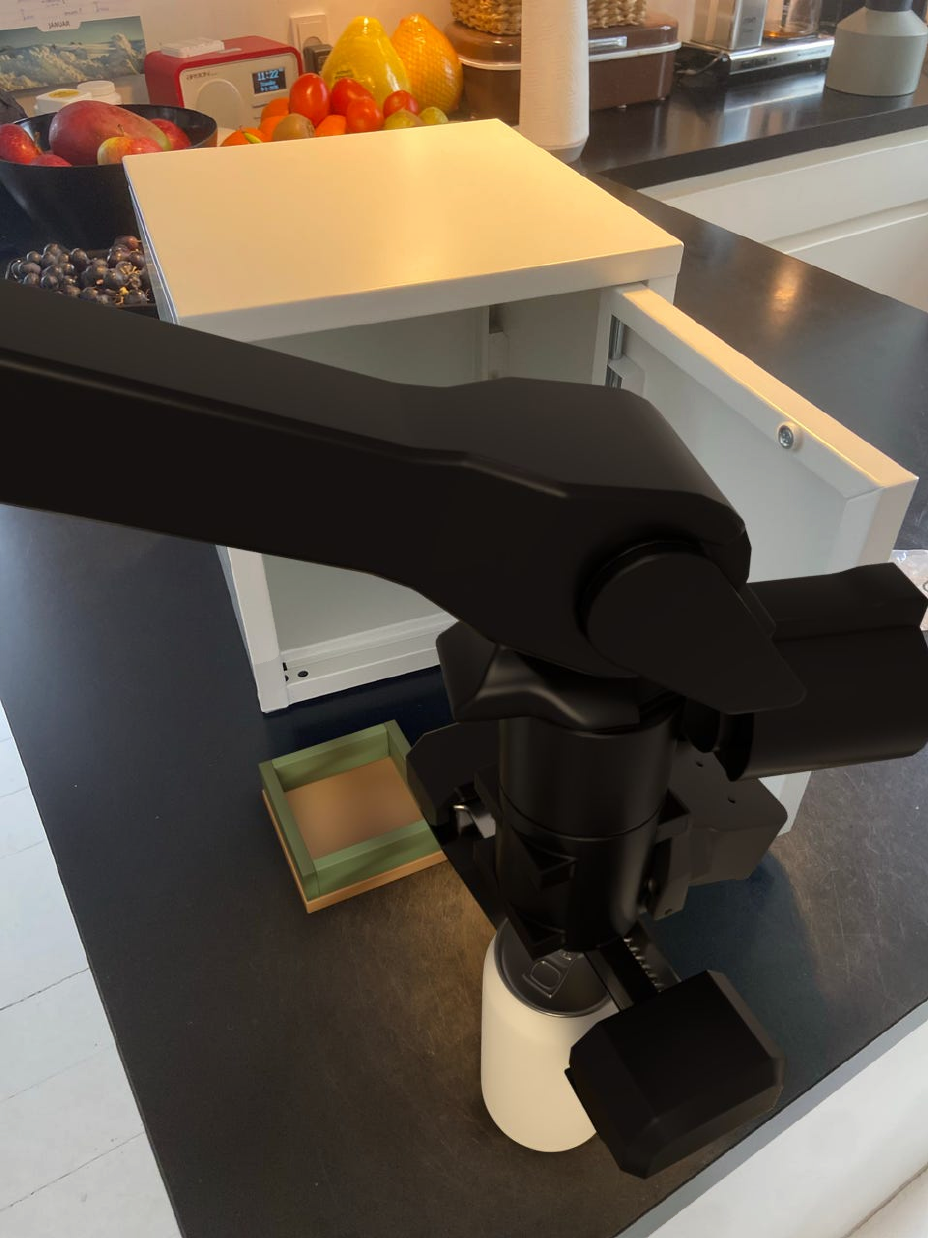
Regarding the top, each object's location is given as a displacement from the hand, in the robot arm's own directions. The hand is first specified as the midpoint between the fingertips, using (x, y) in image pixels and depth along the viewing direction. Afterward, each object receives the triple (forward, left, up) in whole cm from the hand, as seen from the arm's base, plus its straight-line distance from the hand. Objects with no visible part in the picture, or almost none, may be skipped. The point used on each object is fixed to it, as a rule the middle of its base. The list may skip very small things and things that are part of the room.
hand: (553, 1008), depth 41 cm
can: (0, 0, -8) cm, 8 cm away
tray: (-3, +19, -7) cm, 21 cm away
